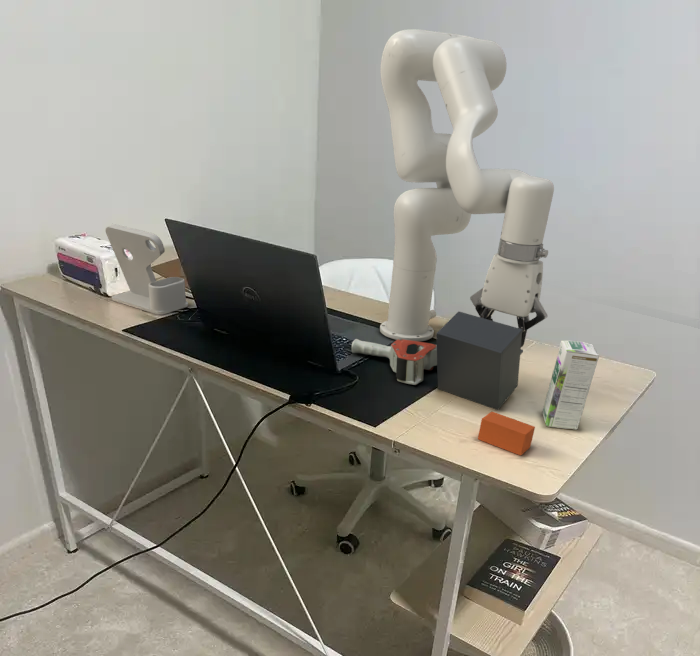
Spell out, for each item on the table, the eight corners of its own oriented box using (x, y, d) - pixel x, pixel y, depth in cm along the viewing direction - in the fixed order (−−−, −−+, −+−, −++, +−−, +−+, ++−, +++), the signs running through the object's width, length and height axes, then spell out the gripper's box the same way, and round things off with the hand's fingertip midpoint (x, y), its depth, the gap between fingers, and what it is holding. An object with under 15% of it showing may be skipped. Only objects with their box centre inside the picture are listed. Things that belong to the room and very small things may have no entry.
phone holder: (191, 305, 161) (187, 229, 151) (161, 316, 153) (154, 235, 144) (140, 290, 168) (132, 216, 158) (108, 299, 160) (99, 222, 151)
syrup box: (541, 412, 123) (559, 338, 115) (573, 416, 123) (593, 342, 115) (545, 427, 118) (565, 350, 111) (579, 430, 118) (600, 354, 110)
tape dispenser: (347, 356, 144) (374, 389, 127) (347, 332, 141) (375, 363, 124) (422, 349, 148) (459, 381, 131) (424, 326, 146) (461, 355, 129)
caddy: (437, 388, 129) (475, 348, 137) (497, 410, 123) (534, 366, 130) (436, 333, 120) (476, 293, 127) (501, 353, 113) (539, 309, 121)
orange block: (487, 431, 115) (491, 411, 113) (530, 447, 111) (535, 426, 109) (477, 439, 112) (481, 418, 110) (520, 455, 109) (525, 434, 106)
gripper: (572, 257, 118) (549, 351, 128) (485, 238, 127) (469, 328, 136) (556, 264, 113) (533, 362, 123) (467, 244, 121) (452, 337, 131)
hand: (500, 343), depth 129 cm, fingers closed on caddy, 6 cm apart
